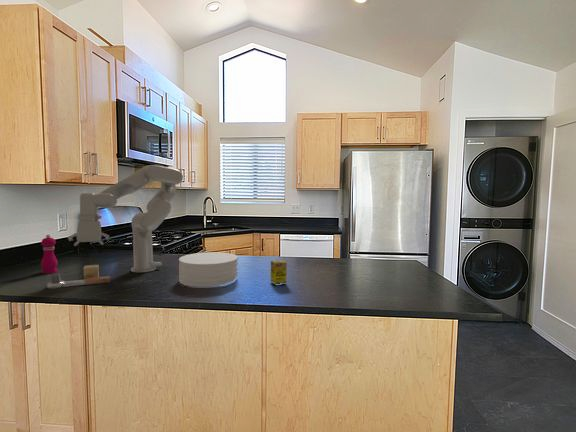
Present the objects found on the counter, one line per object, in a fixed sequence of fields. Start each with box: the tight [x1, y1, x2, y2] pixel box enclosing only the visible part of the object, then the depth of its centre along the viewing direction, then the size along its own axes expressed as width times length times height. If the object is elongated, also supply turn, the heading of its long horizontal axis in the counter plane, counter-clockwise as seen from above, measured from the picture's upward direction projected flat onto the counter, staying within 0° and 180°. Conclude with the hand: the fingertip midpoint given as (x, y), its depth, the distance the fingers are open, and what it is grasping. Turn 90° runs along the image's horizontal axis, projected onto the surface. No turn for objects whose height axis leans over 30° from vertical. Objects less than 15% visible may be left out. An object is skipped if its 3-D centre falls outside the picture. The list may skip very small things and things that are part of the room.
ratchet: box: [46, 273, 111, 290], centre depth 146 cm, size 24×6×6 cm, turn 119°
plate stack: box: [178, 251, 239, 286], centre depth 156 cm, size 28×28×12 cm
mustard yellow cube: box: [83, 264, 100, 280], centre depth 156 cm, size 6×6×6 cm
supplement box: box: [269, 260, 288, 284], centre depth 151 cm, size 6×6×11 cm
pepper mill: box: [40, 234, 59, 275], centre depth 166 cm, size 7×7×20 cm
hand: (89, 253), depth 155 cm, fingers open, 9 cm apart
